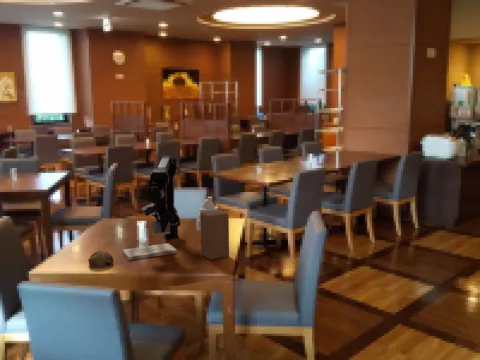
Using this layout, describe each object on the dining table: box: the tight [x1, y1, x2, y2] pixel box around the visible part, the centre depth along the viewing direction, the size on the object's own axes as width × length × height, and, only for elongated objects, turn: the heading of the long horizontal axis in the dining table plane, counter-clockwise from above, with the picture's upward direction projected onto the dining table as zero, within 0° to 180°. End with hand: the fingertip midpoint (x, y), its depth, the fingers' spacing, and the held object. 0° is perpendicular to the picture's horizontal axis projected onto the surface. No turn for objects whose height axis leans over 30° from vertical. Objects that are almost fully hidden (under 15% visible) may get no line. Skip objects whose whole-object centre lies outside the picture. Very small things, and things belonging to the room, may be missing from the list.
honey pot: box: [196, 196, 219, 233], centre depth 258 cm, size 13×13×18 cm
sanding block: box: [151, 221, 170, 236], centre depth 220 cm, size 7×4×5 cm, turn 116°
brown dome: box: [87, 250, 114, 269], centre depth 204 cm, size 10×10×8 cm
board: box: [122, 243, 178, 261], centre depth 219 cm, size 22×12×2 cm, turn 116°
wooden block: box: [200, 209, 230, 261], centre depth 213 cm, size 10×10×20 cm
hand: (161, 230), depth 221 cm, fingers closed on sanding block, 4 cm apart
